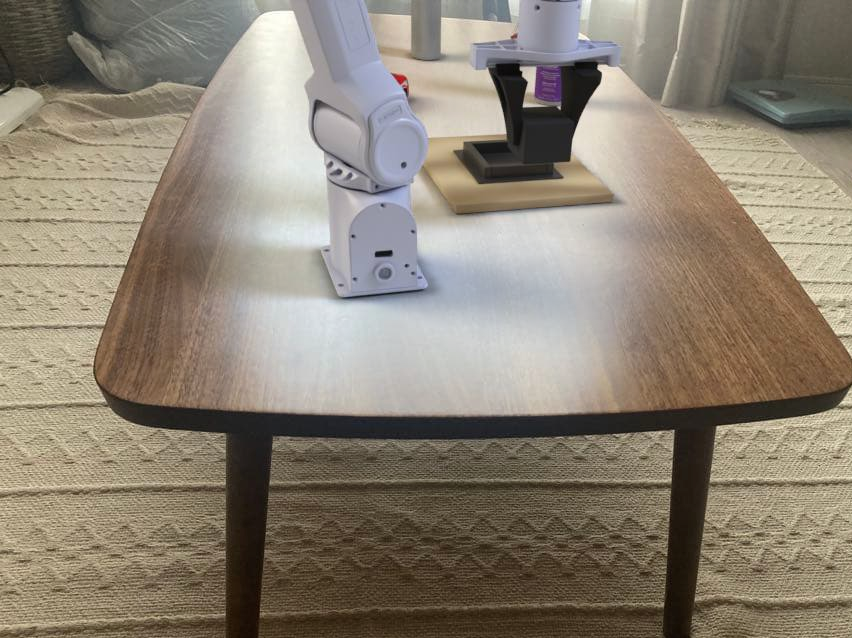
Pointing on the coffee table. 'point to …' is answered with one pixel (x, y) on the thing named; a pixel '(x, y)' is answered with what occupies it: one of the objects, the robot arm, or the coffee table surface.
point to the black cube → (544, 136)
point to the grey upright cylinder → (426, 29)
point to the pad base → (505, 177)
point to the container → (548, 85)
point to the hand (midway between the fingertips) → (539, 140)
